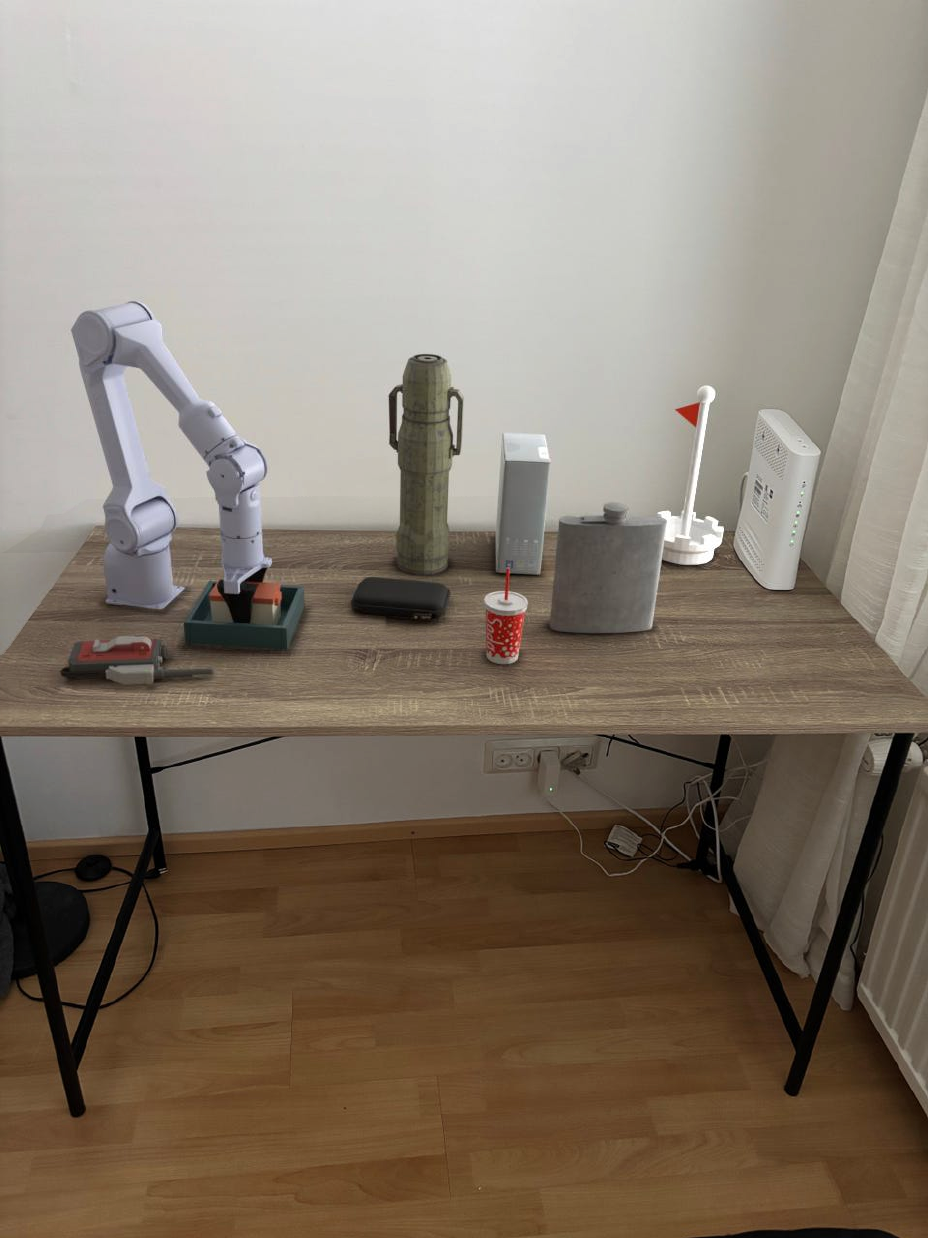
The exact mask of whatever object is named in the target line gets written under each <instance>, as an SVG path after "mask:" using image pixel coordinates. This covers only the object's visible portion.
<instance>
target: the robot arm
mask: <svg viewBox="0 0 928 1238" xmlns="http://www.w3.org/2000/svg"><path fill="white" fill-rule="evenodd" d="M70 332H71V335H72V339H73V342H74V346H75V349H76V352H77V356H78V366H79V370H80V374H81V378H82V381H83V385H84V388H85V392H86V396H87V400H88V403H89V406H90V410H91V413H92V416H93V420H94V423H95V427H96V431H97V434H98V438H99V441H100V445H101V449H102V451H103V452H102V453H103V456H104V459H105V462H106V466H107V470H108V473H109V476H110V480H111V484H112V489H111V491H110V492H109V493H108V496H107V498H106V499H105V501H104V503H103V505H102V509H103V512H104V532H105V535H106V537H107V539H108V541H109V544H108V545H107V547H106V549H105V551H104V555H103V571H104V579H105V586H106V594H107V598H106V599H105V604H107V605H112V606H113V605H114V606H120V607H122V605H126V606H133V607H140V608H141V607H142V608H146V609H153V610H163V609H164V608H165V607H166V606H168V605H169V604H170V603H171V602H172V601H173V600H174V599H175V598H176V597H178V595H179V594H181V593H182V591H184V590H185V586H179V585H174V579H173V570H172V559H171V550H170V542H171V541H172V540H173V537H172V533H173V532H175V531H176V529H177V528H178V524H179V516H178V511H177V509H176V508H175V506H174V505H173V502H172V501H171V499H170V497H169V495H168V491H167V488H166V487H165V486H164V485H162V484H160V483H158V482H156V481H154V480H152V478H151V473H150V469H149V466H148V464H147V459H146V456H145V452H144V448H143V445H142V440H141V437H140V434H139V433H140V432H139V429H138V426H137V423H136V418H135V415H134V411H133V410H134V409H133V407H132V404H131V400H130V396H129V392H128V389H127V385H126V380H125V377H124V373H125V371H126V370H127V368H128V367H130V368H135V369H139V370H140V371H142V372H143V374H144V375H145V376H146V377H147V378H148V379H149V380H150V381H151V383H152V384H153V385H154V386H155V387H156V388H157V390H159V392H160V393H161V394H162V395H163V396H164V398H165V399H166V400H167V401H168V402H169V403H170V405H172V407H173V408H174V409H175V411H177V413H178V429H180V430H181V432H182V433H183V434H184V436H185V437H186V438H187V440H188V441H189V443H190V444H191V445H192V447H193V448H194V449H195V450H196V452H197V453H198V454H199V456H200V457H201V458H202V460H203V461H204V463H205V464H206V465H207V466H208V467H209V468H208V470H207V471H206V472H205V473H206V478H207V481H208V483H209V485H210V486H211V488H212V489H213V492H214V498H215V502H217V505H218V514H219V529H220V541H221V560H220V562H221V568H222V572H223V576H224V579H218V580H219V582H218V584H217V589H218V592H219V593H220V594H221V596H222V597H223V598H224V600H225V602H226V603H227V606H228V608H229V611H230V614H231V617H232V620H233V622H234V623H248V624H250V621H251V615H252V604H253V599H254V595H255V592H256V590H257V588H258V586H259V584H248V583H247V582H263V583H264V579H265V577H266V573H267V570H268V569H269V568H270V567H271V566H272V564H273V559H272V558H271V557H265V554H264V548H263V547H264V545H263V527H262V526H263V524H262V508H261V507H262V506H261V490H260V489H261V488H260V482H262V481H263V480H264V479H265V478H266V476H267V473H268V463H267V460H266V457H265V455H264V454H263V452H262V449H261V448H260V447H259V446H257V445H255V444H254V443H252V442H248V441H247V440H246V439H245V438H244V437H241V436H239V435H238V434H237V432H236V431H235V429H234V428H233V427H232V426H231V425H230V423H229V422H228V420H227V419H226V418H225V416H224V415H223V411H222V410H221V409H220V408H219V406H216V404H215V402H213V401H210V400H206V399H203V398H202V399H201V398H200V397H199V396H198V394H197V392H196V391H195V389H194V388H193V386H192V384H191V383H190V382H189V380H188V378H187V376H186V375H185V373H184V372H183V370H182V369H181V367H180V366H179V364H178V363H177V362H176V360H175V358H174V356H173V355H172V353H171V352H170V350H169V348H168V347H167V346H166V344H165V343H164V341H163V326H162V325H161V323H160V322H159V321H158V320H157V319H156V318H155V315H154V314H153V311H152V310H151V309H150V308H149V307H148V306H147V305H146V304H145V303H144V302H142V301H139V300H130V301H127V302H126V303H122V304H118V305H117V304H116V305H112V306H109V307H104V308H99V309H94V310H91V309H89V310H85V311H83V312H81V313H80V314H79V315H78V317H77V318H76V320H75V322H74V324H73V325H72V327H71V329H70Z"/></svg>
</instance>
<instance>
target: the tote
mask: <svg viewBox="0 0 928 1238" xmlns="http://www.w3.org/2000/svg"><path fill="white" fill-rule="evenodd" d="M217 581H218V580H208V582H207V583H206V585H205V587H204V588H203V590H202V591H201V593H200V595H199V596H198V597H197V599H196V601H195V603H194V604H193V606H192V608H191V610H190V611H189V613H188V614H187V616H186V618H185V619H184V620H183V630H184V632H183V633H184V639H185V645H199V646H200V645H202V646H219V647H220V646H221V647H236V648H252V649H253V648H254V649H269V650H271V649H272V650H286V651H287V650H288V649H289V647H290V645H291V644H290V643H291V642H292V639H293V637H294V634H295V632H296V630H297V627H298V624H299V621H300V619H301V617H302V614H303V612H304V609H305V607H306V606H305V605H306V603H305V586H304V585H290V584H280V592H281V595H282V599H281V601H280V607H281V617H280V619H279V622H278V624H277V625H266V624H248V623H231V622H214V621H212V616H211V604H210V601H209V594H210V592H211V590H212V589H213V588H214V586H215V585H216V583H217Z"/></svg>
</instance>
